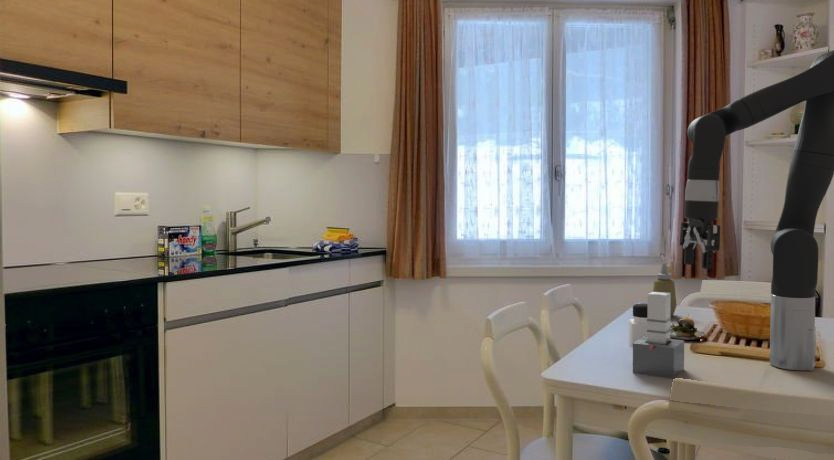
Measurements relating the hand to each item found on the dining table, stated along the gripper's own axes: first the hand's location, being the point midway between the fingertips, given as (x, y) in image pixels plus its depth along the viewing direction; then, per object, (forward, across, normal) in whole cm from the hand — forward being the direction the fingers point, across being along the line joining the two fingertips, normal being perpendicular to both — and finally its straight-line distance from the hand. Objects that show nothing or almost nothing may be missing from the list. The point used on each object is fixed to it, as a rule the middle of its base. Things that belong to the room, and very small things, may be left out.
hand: (697, 266), depth 156 cm
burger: (+25, +29, -13) cm, 40 cm away
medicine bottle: (+25, +19, +3) cm, 32 cm away
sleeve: (+25, -8, +12) cm, 29 cm away
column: (+24, -8, +12) cm, 27 cm away
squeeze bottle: (+24, +62, -22) cm, 70 cm away
